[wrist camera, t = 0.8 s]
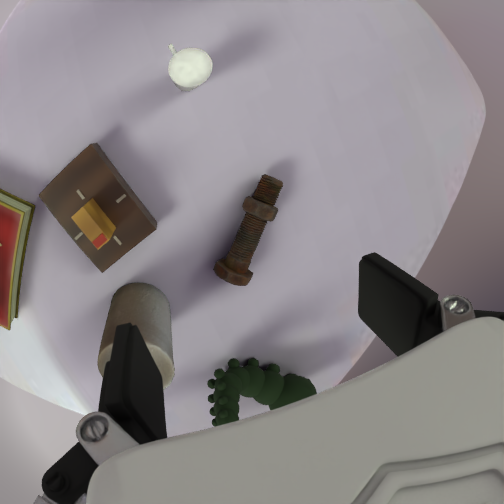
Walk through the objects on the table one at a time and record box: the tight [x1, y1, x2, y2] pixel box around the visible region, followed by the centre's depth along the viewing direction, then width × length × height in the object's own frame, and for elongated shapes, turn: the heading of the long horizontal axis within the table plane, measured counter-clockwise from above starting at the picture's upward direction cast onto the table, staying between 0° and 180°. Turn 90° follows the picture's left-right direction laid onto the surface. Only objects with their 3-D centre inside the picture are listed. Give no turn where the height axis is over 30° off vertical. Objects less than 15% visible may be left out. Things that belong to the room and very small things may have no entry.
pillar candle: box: [98, 283, 175, 390], centre depth 37 cm, size 10×10×15 cm
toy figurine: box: [208, 358, 317, 427], centre depth 47 cm, size 9×19×25 cm
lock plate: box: [39, 143, 157, 273], centre depth 34 cm, size 14×10×3 cm
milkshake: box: [168, 44, 213, 92], centre depth 28 cm, size 4×5×10 cm
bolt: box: [213, 174, 283, 286], centre depth 40 cm, size 6×5×15 cm
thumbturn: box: [71, 198, 116, 250], centre depth 31 cm, size 5×2×5 cm, turn 32°
